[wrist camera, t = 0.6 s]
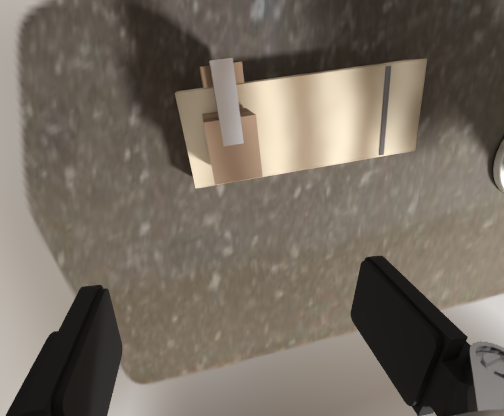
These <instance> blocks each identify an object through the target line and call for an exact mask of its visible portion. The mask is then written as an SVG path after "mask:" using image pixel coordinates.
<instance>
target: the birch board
mask: <svg viewBox="0 0 504 416" xmlns="http://www.w3.org/2000/svg"><path fill="white" fill-rule="evenodd" d="M426 65H427V59H411V60H402V61H394V62H387V63H380V64H372V65H365V66H358V67H350V68H343V69H336V70H329V71H321V72H314V73H307V74H299V75H292V76H285V77H277V78H270V79H263V80H255V81H248V82H244V83H238V84H236V87H237V95H238V103H239V109H240V108H247V109H248V110H250V111H251V112H253V113H254V114H256V120H257V129H258V139H259V148H260V157H261V166H262V176H263V177H265V176H271V175H277V174H282V173H288V172H294V171H300V170H306V169H311V168H317V167H323V166H329V165H335V164H340V163H346V162H352V161H358V160H363V159H369V158H375V157H381V156H387V155H392V154H398V153H404V152H410V151H415V147H416V140H417V132H418V125H419V117H420V110H421V102H422V95H423V87H424V80H425V72H426ZM175 97H176V101H177V106H178V110H179V115H180V119H181V124H182V128H183V133H184V138H185V142H186V147H187V151H188V156H189V160H190V165H191V169H192V174H193V179H194V183H195V188H202V187H207V186H213V185H215V182H214V177H213V171H212V166H211V161H210V155H209V150H208V145H207V139H206V134H205V129H204V123H203V116H202V114H206V113H213V112H217V107H216V101H215V95H214V89H213V87H209V88H197V89H190V90H182V91H177V92H176V93H175ZM258 178H259V177H258ZM252 179H254V178H252ZM246 180H248V179H246ZM240 181H242V180H240ZM235 182H236V181H235ZM229 183H230V182H229ZM223 184H225V183H223ZM217 185H219V184H217Z"/></svg>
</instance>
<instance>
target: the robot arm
mask: <svg viewBox="0 0 504 416" xmlns="http://www.w3.org/2000/svg"><path fill="white" fill-rule="evenodd" d="M493 174H494V180H495V183H496V185H497V186H498V188H499V189H500V190H501V191H502V192H504V139H503V141H502V142H501V144H500V147H499V149H498V151H497V154H496V157H495V160H494V167H493ZM351 318H352V321H353V323H354V324H355V326H356V327H357V329H358V330H359V332H360V334H361V335H362V336H363V338H364V340H365V341H366V343H367V344H368V346H369V347H370V349H371V350H372V352H373V353H374V355H375V357H376V358H377V360H378V361H379V363H380V364H381V366H382V367H383V369H384V370H385V372H386V373H387V375H388V377H389V378H390V380H391V381H392V383H393V384H394V386H395V387H396V389H397V390H398V392H399V393H400V395H401V397H402V398H403V400H404V401H405V402H406V404H408V405H409V406H412V407H413V409H414V410H415V412H416V413H417V415H418V416H422V415H426V414H431V413H433V412H435V413H436V415H437V416H504V348H502V347H500V346H498V345H495V344H492V343H488V342H476V343H473V344H472V345H471V346H470V345H469V344H468V343H467V342H466V339H467V336H466V335H465V334H463V332H462V331H461V330H459V329H458V328H457V327H456V326H455V325H454V324H453V323H452V322H451V321H450V320H449V319H448V318H447V317H446V316H445V315H444V314H443V313H442V312H441V311H440V310H439V309H438V308H436V307H435V306H434V305H433V304H432V303H431V302H430V301H429V300H428V299H427V298H426V297H425V296H424V295H423V294H422V293H421V292H420V291H419V290H418V289H417V288H416V287H415V286H413V285H412V284H411V283H410V282H409V281H408V280H407V279H406V278H405V277H404V276H403V275H402V274H401V273H400V272H399V271H398V270H397V269H396V268H395V267H394V266H393V265H392V264H390V263H389V262H388V261H387V260H386V259H385V258H384V257H383V256H372V257H367V258H365V260H364V261H363V262H362V263H361V266H360V271H359V276H358V281H357V285H356V290H355V295H354V300H353V304H352V309H351ZM121 356H122V343H121V339H120V334H119V330H118V326H117V322H116V318H115V314H114V310H113V306H112V302H111V298H110V294H109V290H108V289H103V287H102V286H101V285H94V286H85V287H81V289H80V290H79V292H78V294H77V296H76V298H75V300H74V302H73V304H72V306H71V308H70V310H69V311H68V313H67V315H66V317H65V319H64V321H63V323H62V325H61V327H60V329H59V331H57V332H53V333H51V334H50V335H49V337H48V338H47V340H46V342H45V344H44V345H43V347H42V349H41V351H40V353H39V355H38V357H37V358H36V361H35V362H34V364H33V366H32V368H31V369H30V371H29V373H28V375H27V377H26V379H25V381H24V383H23V384H22V386H21V388H20V390H19V392H18V394H17V395H16V397H15V399H14V401H13V403H12V405H11V407H10V409H9V410H8V412H7V414H6V416H107V414H108V409H109V405H110V401H111V397H112V393H113V389H114V385H115V381H116V377H117V373H118V369H119V365H120V360H121Z"/></svg>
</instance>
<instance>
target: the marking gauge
mask: <svg viewBox="0 0 504 416" xmlns="http://www.w3.org/2000/svg"><path fill="white" fill-rule="evenodd" d="M209 64H210V66H203V67H200V74H201V79H202V85H203V87H204V88H209V87H213V89H214V95H215V101H216V107H217V112H213V113H206V114H202V116H203V123H204V129H205V134H206V139H207V145H208V150H209V155H210V161H211V166H212V171H213V177H214V182H215V185H217V184H223V183H229V182H235V181H240V180H246V179H252V178H258V177H263V176H262V166H261V157H260V148H259V139H258V129H257V120H256V114H254V113H253V112H251V111H250V110H248V109H247V108H240V109H239V103H238V95H237V87H236V84H238V83H244V75H243V67H242V62H234V63H233V58H226V59H218V60H211V61H209Z"/></svg>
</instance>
